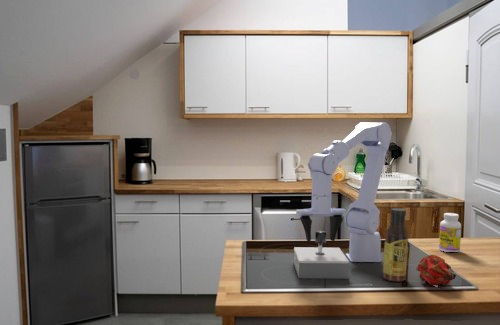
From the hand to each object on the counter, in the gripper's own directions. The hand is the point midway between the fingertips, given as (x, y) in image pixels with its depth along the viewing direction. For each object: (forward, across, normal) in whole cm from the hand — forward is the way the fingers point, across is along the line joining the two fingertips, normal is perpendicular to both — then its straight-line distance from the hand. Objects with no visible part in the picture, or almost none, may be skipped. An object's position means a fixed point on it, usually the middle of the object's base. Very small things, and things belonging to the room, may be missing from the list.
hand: (320, 240), depth 138 cm
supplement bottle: (+9, -51, -14) cm, 54 cm away
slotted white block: (+9, 0, 0) cm, 9 cm away
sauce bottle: (+9, -19, +10) cm, 23 cm away
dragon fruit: (+9, -28, +15) cm, 33 cm away
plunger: (+5, 0, 0) cm, 5 cm away
